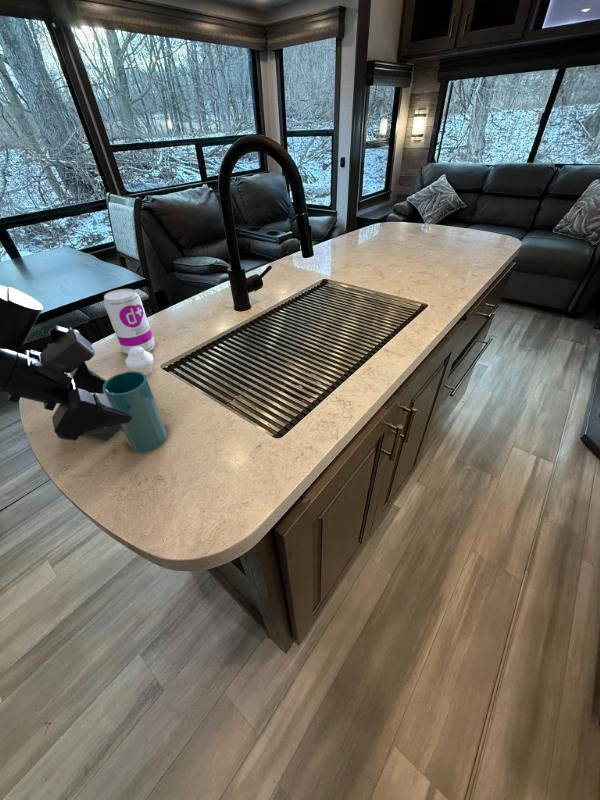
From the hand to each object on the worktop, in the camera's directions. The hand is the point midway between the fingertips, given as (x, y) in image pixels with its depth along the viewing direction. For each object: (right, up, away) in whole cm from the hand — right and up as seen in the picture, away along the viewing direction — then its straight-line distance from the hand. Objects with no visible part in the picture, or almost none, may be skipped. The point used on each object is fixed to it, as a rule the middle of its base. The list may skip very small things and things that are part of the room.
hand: (124, 404), depth 56 cm
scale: (-9, -2, +12) cm, 15 cm away
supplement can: (-13, +14, +33) cm, 38 cm away
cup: (+1, -7, +6) cm, 9 cm away
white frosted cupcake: (-8, +7, +24) cm, 26 cm away
